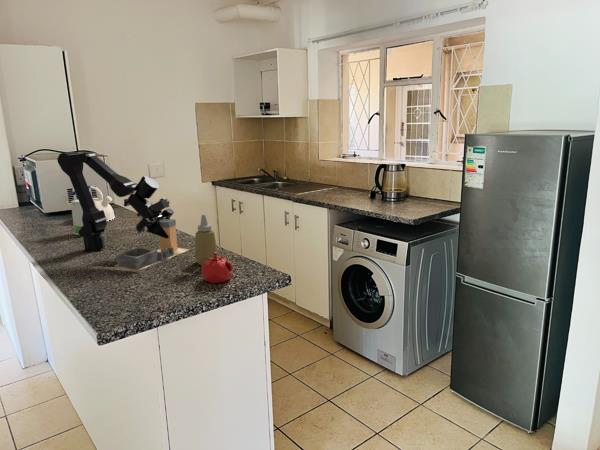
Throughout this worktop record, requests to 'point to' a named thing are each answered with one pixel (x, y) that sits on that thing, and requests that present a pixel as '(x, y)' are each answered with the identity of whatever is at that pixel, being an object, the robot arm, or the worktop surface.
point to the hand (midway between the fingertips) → (171, 236)
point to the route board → (144, 258)
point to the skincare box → (77, 215)
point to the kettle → (102, 204)
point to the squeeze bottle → (204, 242)
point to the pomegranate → (217, 269)
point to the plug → (170, 229)
